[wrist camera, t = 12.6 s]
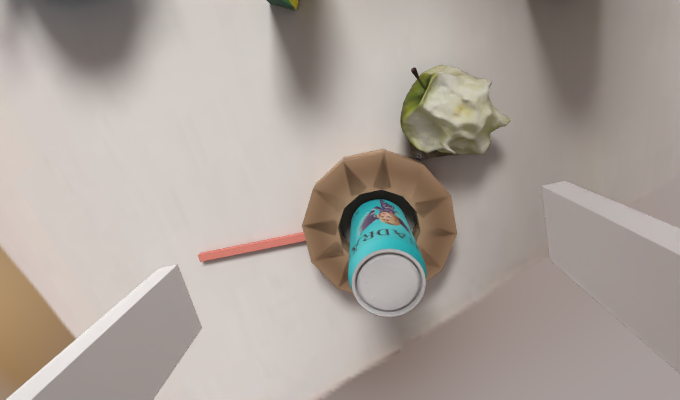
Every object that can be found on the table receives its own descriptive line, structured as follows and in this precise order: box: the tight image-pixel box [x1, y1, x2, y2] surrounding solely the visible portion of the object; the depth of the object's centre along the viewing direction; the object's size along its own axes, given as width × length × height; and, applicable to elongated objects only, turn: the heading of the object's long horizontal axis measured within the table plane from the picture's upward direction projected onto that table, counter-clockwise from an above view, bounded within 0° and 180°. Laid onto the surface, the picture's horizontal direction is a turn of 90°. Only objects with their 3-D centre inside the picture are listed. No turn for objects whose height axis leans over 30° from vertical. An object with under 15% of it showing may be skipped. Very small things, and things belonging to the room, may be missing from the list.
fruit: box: [400, 65, 510, 160], centre depth 35 cm, size 9×9×8 cm
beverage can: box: [348, 199, 427, 317], centre depth 33 cm, size 6×6×15 cm
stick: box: [198, 232, 306, 262], centre depth 42 cm, size 1×13×1 cm, turn 103°
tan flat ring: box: [302, 149, 457, 293], centre depth 39 cm, size 15×15×3 cm
